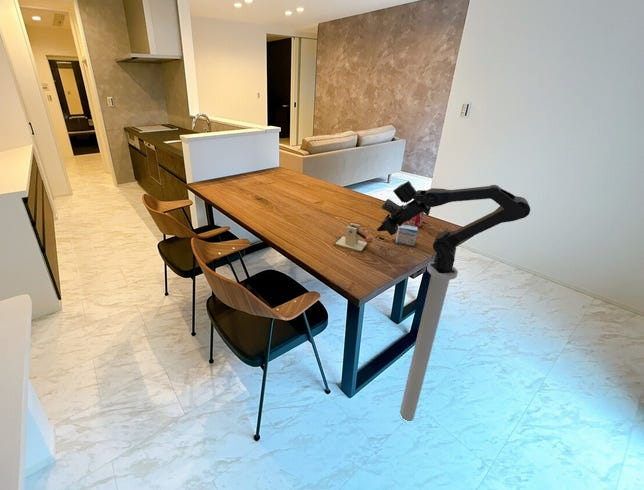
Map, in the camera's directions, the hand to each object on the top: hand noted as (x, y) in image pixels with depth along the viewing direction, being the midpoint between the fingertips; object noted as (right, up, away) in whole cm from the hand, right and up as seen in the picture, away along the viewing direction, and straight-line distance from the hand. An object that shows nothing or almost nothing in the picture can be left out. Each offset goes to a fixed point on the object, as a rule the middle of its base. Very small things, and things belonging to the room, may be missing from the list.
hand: (377, 230), depth 126 cm
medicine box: (+16, -7, +10) cm, 20 cm away
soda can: (+29, 0, +28) cm, 40 cm away
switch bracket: (-9, -7, +9) cm, 15 cm away
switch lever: (-6, -3, +6) cm, 9 cm away
